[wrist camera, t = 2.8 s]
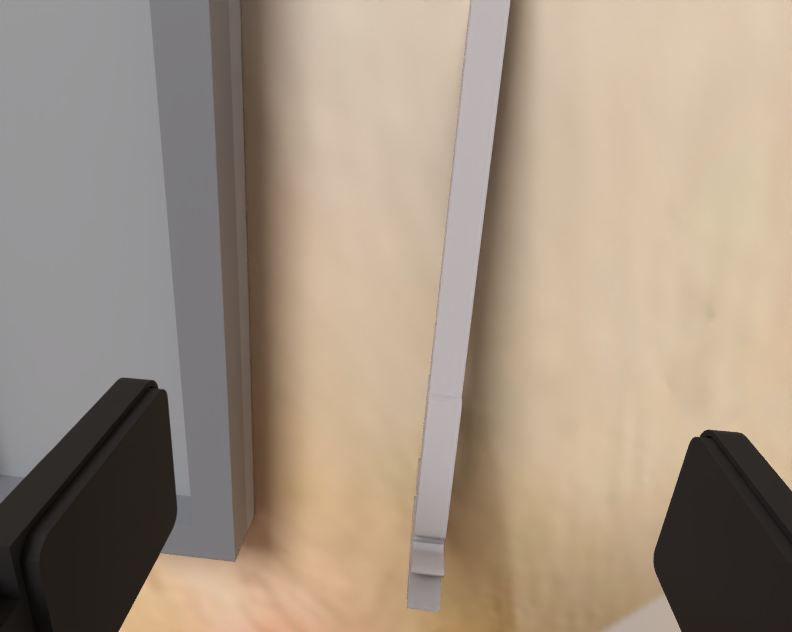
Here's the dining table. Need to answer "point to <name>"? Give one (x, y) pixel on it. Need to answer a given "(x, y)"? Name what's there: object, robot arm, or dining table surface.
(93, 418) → the robot arm
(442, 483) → the caliper
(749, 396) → the dining table surface
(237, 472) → the tool case
